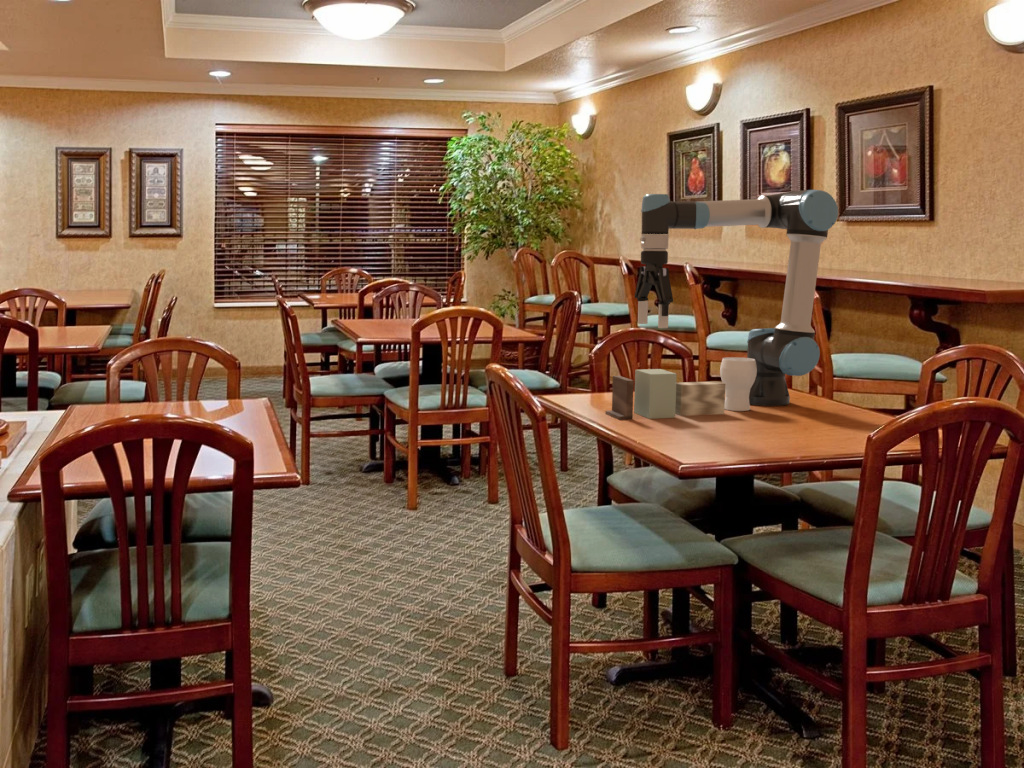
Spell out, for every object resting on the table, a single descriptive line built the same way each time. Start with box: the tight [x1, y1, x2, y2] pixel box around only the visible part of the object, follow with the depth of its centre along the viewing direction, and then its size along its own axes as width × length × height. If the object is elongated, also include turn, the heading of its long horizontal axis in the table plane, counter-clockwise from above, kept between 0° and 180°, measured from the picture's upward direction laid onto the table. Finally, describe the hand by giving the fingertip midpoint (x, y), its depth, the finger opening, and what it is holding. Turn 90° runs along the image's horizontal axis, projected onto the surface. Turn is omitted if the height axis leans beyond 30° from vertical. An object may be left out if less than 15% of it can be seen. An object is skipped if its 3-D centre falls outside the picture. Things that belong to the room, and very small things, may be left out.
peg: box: [675, 380, 726, 417], centre depth 307 cm, size 14×5×9 cm, turn 108°
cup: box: [719, 356, 757, 412], centre depth 315 cm, size 11×11×15 cm
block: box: [633, 368, 678, 420], centre depth 303 cm, size 8×10×12 cm
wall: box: [604, 375, 635, 421], centre depth 299 cm, size 4×10×11 cm, turn 18°
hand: (652, 325), depth 300 cm, fingers open, 13 cm apart
